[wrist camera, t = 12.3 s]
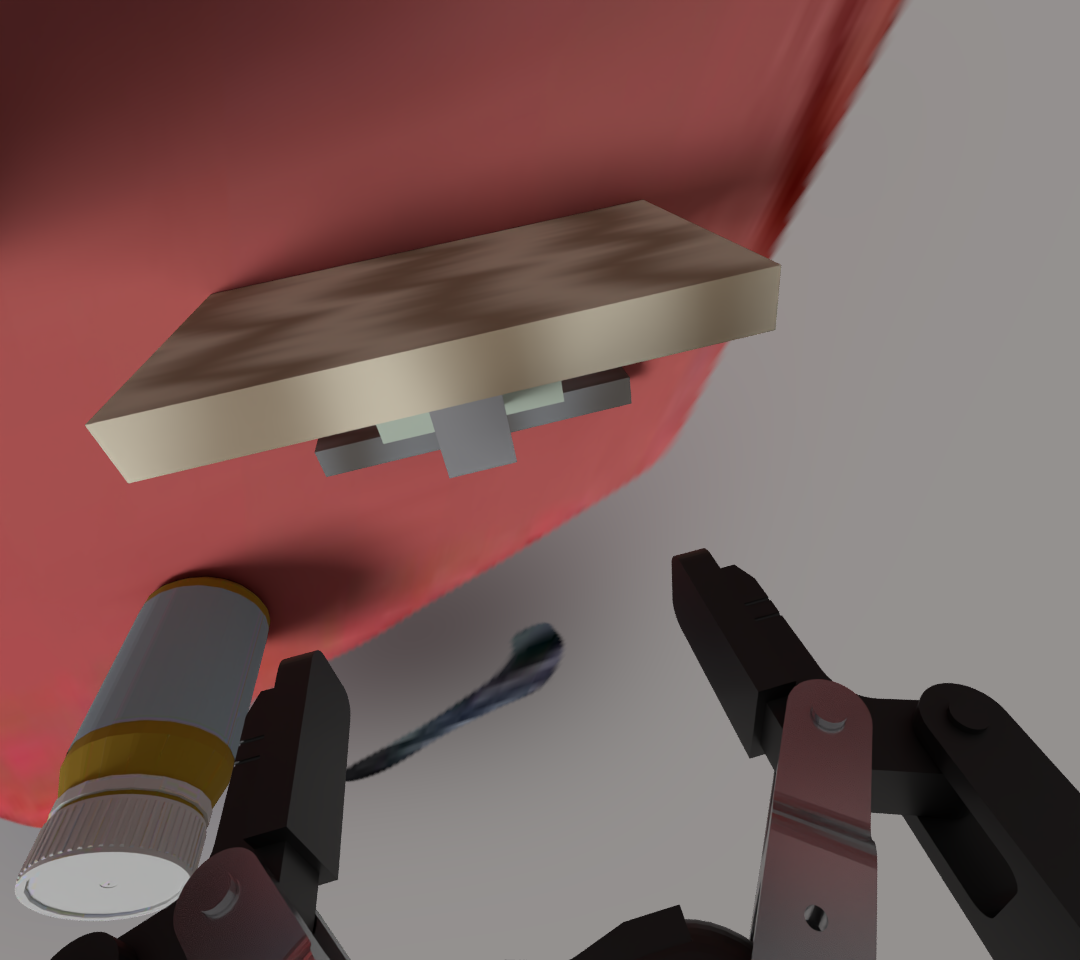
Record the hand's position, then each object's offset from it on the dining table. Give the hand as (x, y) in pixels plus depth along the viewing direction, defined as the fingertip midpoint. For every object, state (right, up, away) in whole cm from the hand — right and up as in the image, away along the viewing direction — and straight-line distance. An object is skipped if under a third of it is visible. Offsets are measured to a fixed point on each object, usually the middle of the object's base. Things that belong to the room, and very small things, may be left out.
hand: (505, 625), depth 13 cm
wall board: (-4, +11, +15) cm, 19 cm away
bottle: (-20, -5, +22) cm, 30 cm away
